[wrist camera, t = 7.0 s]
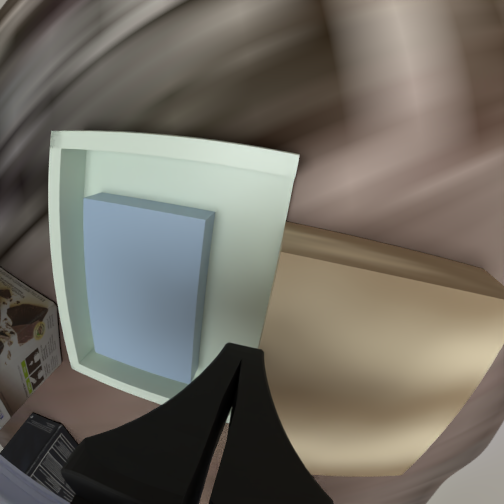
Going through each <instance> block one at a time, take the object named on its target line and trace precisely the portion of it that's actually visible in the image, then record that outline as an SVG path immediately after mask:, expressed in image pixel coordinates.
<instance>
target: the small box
mask: <svg viewBox="0 0 504 504" xmlns="http://www.w3.org/2000/svg"><path fill="white" fill-rule="evenodd" d="M77 446H78V444H77V443H76V442H75V440H74V439H73V438H72V437H71V435H70V434H69V433H68V431H67V430H66V429H65V428H64V426H63V425H61V424H59V423H56V422H53V421H51V420H48V419H46V418H44V417H41V416H39V415H37V414H34V413H32V414H31V415H30V416H29V418H28V419H27V420H26V421H25V423H24V424H23V425H22V426H21V427H20V429H19V430H18V431H17V432H16V434H15V435H14V436H13V438H12V439H11V440H10V441H9V443H8V444H7V445H6V446H5V447H4V449H3V450H2V451H1V453H0V455H1V456H3V457H4V458H5V459H6V460H7V461H9V462H10V463H11V464H13V465H14V466H15V467H16V468H18V469H19V470H20V471H22V472H23V473H24V474H26V475H27V476H29V477H30V478H31V479H33V480H34V481H36V482H37V483H39V484H40V485H42V486H43V487H45V488H46V489H48V490H49V491H51V492H53V493H54V494H56V495H57V496H59V497H61V498H62V499H64V500H66V501H68V502H69V503H71V501H72V499H73V497H74V496H75V492H74V491H73V490H72V489H71V488H70V486H69V485H68V484H67V483H66V481H65V480H64V478H63V477H62V475H61V469H62V467H63V465H64V464H65V462H66V461H67V459H68V458H69V456H70V455H71V453H72V452H73V451H74V449H75V448H76V447H77Z"/></svg>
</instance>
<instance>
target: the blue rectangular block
mask: <svg viewBox="0 0 504 504" xmlns="http://www.w3.org/2000/svg"><path fill="white" fill-rule="evenodd" d="M214 218H215V212H213V211H208V210H203V209H197V208H192V207H186V206H181V205H175V204H169V203H164V202H158V201H152V200H146V199H140V198H134V197H128V196H122V195H115V194H109V193H103V192H101V193H98V194H94V195H91V196H88V197H85V198H83V235H84V259H85V274H86V286H87V296H88V306H89V314H90V321H91V328H92V335H93V341H94V347H95V352H96V353H99V354H101V355H104V356H106V357H109V358H111V359H114V360H117V361H119V362H122V363H125V364H127V365H130V366H133V367H136V368H139V369H141V370H144V371H147V372H150V373H153V374H156V375H159V376H163V377H166V378H169V379H172V380H176V381H179V382H182V383H186V384H190V383H191V382H192V380H193V378H194V376H195V373H196V371H197V369H198V363H199V351H200V340H201V330H202V320H203V310H204V301H205V291H206V282H207V274H208V265H209V257H210V249H211V241H212V233H213V226H214Z"/></svg>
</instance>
